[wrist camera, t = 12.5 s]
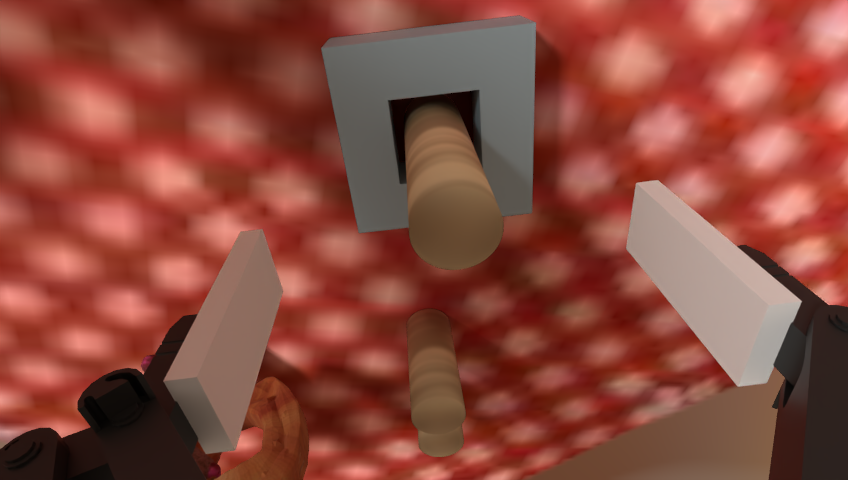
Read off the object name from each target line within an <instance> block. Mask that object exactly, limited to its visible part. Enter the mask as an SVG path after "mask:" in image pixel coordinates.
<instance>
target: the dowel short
mask: <svg viewBox="0 0 848 480" xmlns="http://www.w3.org/2000/svg"><path fill="white" fill-rule="evenodd" d="M418 441H419V448H420V449H421V451H422V452H424V453H425V454H427V455H430V456H434V457H444V456H449V455H452V454H454V453H456V452H457V451H459V450H460V449H461V448H462V446H463V444H464V438H463V431H462V424H461V425H460V426H459V427H458V428H456V429H455V430H453V431H451V432H448V433H444V434H428V433H425V432H422V431H420V430H418Z"/></svg>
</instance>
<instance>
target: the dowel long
mask: <svg viewBox="0 0 848 480" xmlns="http://www.w3.org/2000/svg"><path fill="white" fill-rule="evenodd" d="M404 136H405V157H406V179H407V200H408V221H409V237H410V242H411V244H412V247H413V248H414V250H415V252H416V253H417V254H418V256H419V257H420V258H422V259H423V260H424V261H425V262H427V263H429V264H430V265H432V266H435V267H438V268H441V269H447V270H460V269H466V268H469V267H472V266H475V265H477V264H479V263H481V262H482V261H484V260H485V259H487V258H488V257H489V256H490V255H491V254H492V253H493V252H494V251H495V249H496V248H497V247H498V245H499V243H500V241H501V238H502V235H503V228H504V224H503V217H502V214H501V212H500V209H499V207H498V204H497V202H496V199H495V197H494V195H493V192H492V190H491V187H490V185H489V183H488V180H487V178H486V175H485V173H484V170H483V168H482V166H481V163H480V161H479V158H478V156H477V153H476V151H475V149H474V146H473V144H472V141H471V139H470V137H469V134H468V132H467V129H466V127H465V124H464V122H463V120H462V117H461V115H460V112H459V110H458V108H457V106H456V104H455V103H454V102H453V101H452V100H451V99H450V98H449V97H448V96H446V95H444V94H439V95H430V96H422V97H416V98H415V99H414V100H413V101H412V102H411V103H410V104H409V105H408V107H407V109H406V112H405V115H404Z"/></svg>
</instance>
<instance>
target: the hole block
mask: <svg viewBox="0 0 848 480" xmlns="http://www.w3.org/2000/svg"><path fill="white" fill-rule="evenodd" d="M535 47H536V22H533V21H531V20H529V19H527V18H525V17H522V16H520V15H519V16H510V17H502V18H494V19H485V20H477V21H468V22H460V23H452V24H443V25H435V26H426V27H418V28H410V29H401V30H393V31H385V32H376V33H368V34H359V35H351V36H343V37H334V38H329V39H328V41H327V42H326V43H325V44H324V45H323V47H322V48H321V50H322V55H323V60H324V65H325V70H326V75H327V80H328V85H329V90H330V94H331V99H332V104H333V109H334V114H335V119H336V124H337V129H338V134H339V139H340V143H341V148H342V153H343V158H344V163H345V168H346V173H347V178H348V183H349V187H350V192H351V197H352V202H353V207H354V212H355V217H356V222H357V227H358V232H359V233H365V232H374V231H382V230H391V229H400V228H408V227H409V221H408V200H407V179H406V161H404V162H399V155H398V148H397V141H396V134H395V126H394V119H393V112H392V105H391V100H397V99H405V98H413V97H422V96H430V95H439V94H447V93H456V92H464V91H471V96H472V116H473V137H474V149H475V151H476V153H477V156H478V158H479V161H480V163H481V166H482V168H483V170H484V173H485V175H486V178H487V180H488V183H489V185H490V187H491V190H492V192H493V195H494V197H495V199H496V202H497V204H498V207H499V209H500V212H501V214H502V217H504V216H512V215H521V214H530V213H532V195H533V145H534V96H535Z"/></svg>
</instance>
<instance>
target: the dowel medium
mask: <svg viewBox="0 0 848 480" xmlns="http://www.w3.org/2000/svg"><path fill="white" fill-rule="evenodd" d="M406 328H407V346H408V365H409V383H410V402H411V419H412V423H413V425H414V426H415V427H416V428H417V429H418V430H420V431H422V432H425V433H428V434H444V433H448V432H451V431H453V430H455V429H456V428H458V427H459V426H460V425H461V424H462V423H463V422H464V420H465V417H466V411H465V405H464V400H463V394H462V388H461V383H460V377H459V371H458V366H457V360H456V355H455V349H454V343H453V338H452V332H451V326H450V321H449V319H448V317H447V316H446V314H444V313H443V312H441V311H439V310H436V309H423V310H420V311H417V312H416V313H414V314H413V315H412V316H411V317H410V318H409V319H408V321H407V326H406Z"/></svg>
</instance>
